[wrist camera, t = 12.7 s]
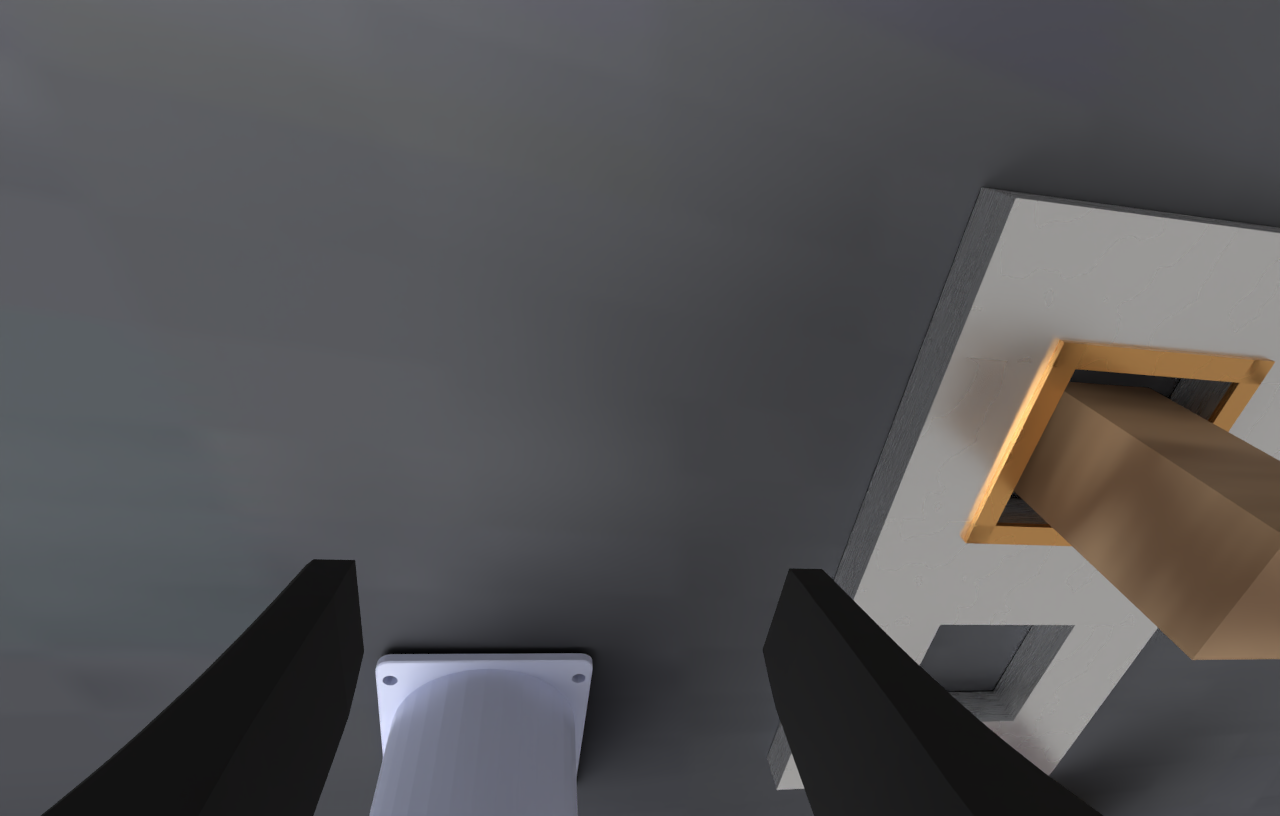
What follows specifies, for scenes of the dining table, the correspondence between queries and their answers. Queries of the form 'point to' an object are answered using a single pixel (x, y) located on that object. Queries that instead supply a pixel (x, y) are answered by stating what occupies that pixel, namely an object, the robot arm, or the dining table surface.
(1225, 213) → the dining table surface
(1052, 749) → the rail
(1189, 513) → the walnut peg
